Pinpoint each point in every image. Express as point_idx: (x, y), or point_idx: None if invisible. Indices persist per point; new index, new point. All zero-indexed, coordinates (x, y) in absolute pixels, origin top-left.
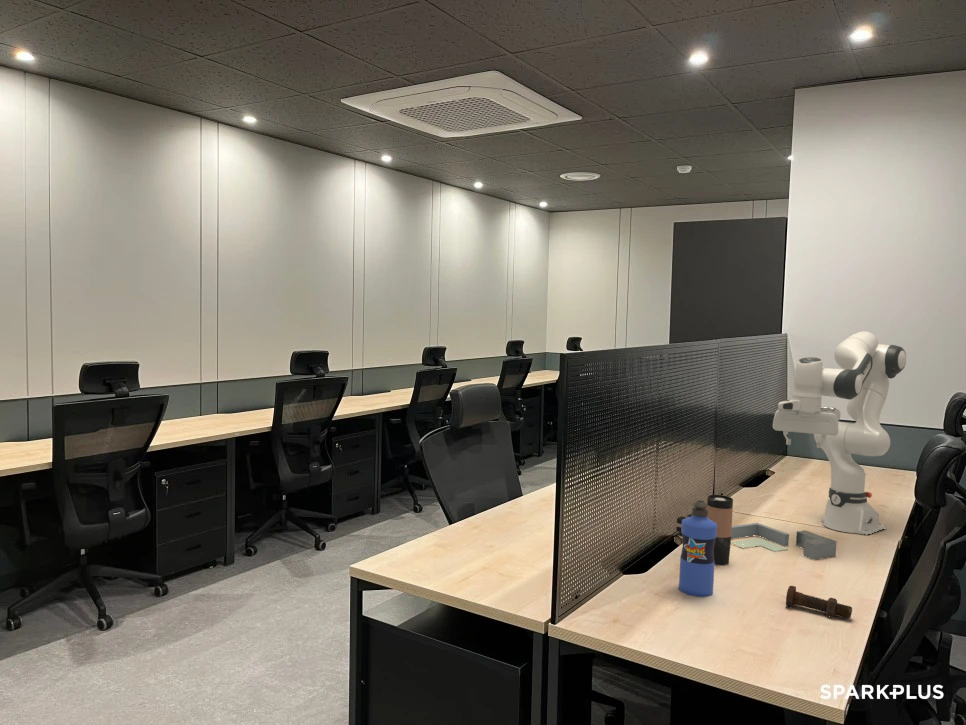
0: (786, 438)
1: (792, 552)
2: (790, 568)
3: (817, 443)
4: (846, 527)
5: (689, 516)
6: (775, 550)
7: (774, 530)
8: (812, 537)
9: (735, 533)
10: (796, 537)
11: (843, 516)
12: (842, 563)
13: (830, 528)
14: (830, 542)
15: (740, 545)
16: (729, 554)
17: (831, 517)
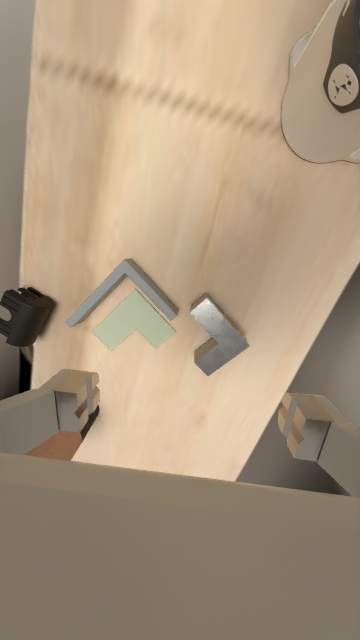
0: (35, 437)
1: (181, 340)
2: (170, 404)
3: (293, 451)
4: (323, 154)
5: (5, 306)
6: (156, 345)
7: (153, 301)
8: (212, 336)
9: (94, 306)
10: (190, 309)
11: (332, 133)
12: (245, 364)
13: (288, 143)
14: (237, 354)
15: (108, 340)
16: (94, 418)
17: (303, 119)
